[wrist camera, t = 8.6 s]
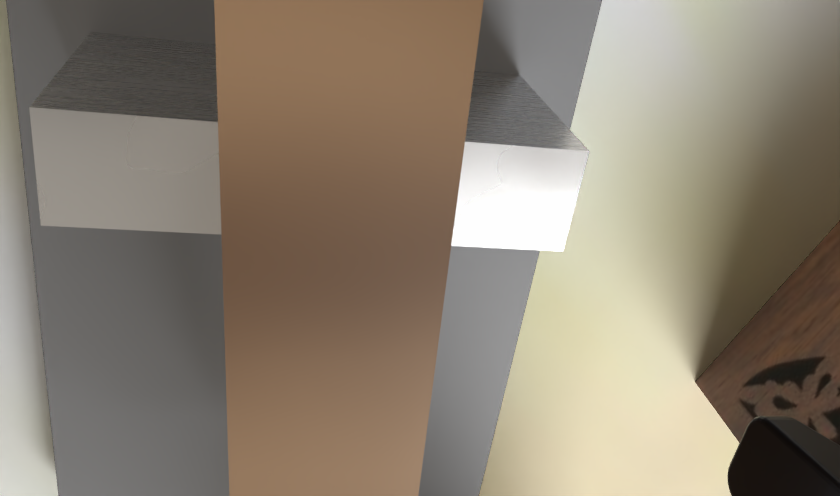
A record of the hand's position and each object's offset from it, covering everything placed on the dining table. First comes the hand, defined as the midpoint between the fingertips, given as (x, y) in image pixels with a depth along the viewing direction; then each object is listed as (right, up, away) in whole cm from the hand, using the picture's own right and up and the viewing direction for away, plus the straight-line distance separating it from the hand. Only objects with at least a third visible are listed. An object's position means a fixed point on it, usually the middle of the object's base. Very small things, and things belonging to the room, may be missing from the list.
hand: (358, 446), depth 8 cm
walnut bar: (-1, +3, +5) cm, 6 cm away
